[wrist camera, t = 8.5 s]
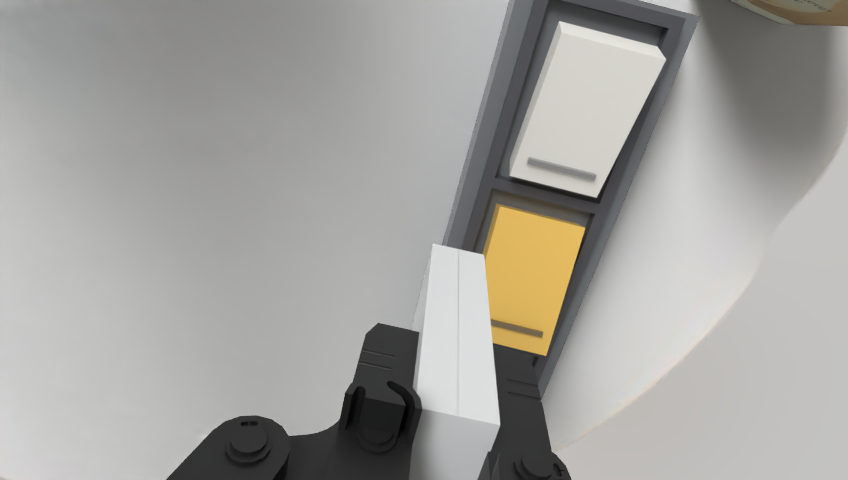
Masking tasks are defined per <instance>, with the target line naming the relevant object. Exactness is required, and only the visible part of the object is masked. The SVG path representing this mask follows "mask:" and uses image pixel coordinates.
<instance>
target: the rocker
mask: <svg viewBox="0 0 848 480" xmlns="http://www.w3.org/2000/svg"><path fill="white" fill-rule="evenodd" d="M665 61H666V59H665V57H664V56H663V54H662V53H661V51H660V50H659V48H658V47H657V46H653V45H649V44H646V43H642V42H638V41H634V40H630V39H626V38H623V37H619V36H615V35H611V34H607V33H603V32H600V31H596V30H592V29H588V28H584V27H580V26H576V25H573V24H569V23H565V22H561V21H559V23H558V25H557V28H556V31H555V34H554V37H553V39H552V42H551V45H550V48H549V51H548V53H547V56H546V59H545V62H544V65H543V67H542V70H541V73H540V76H539V79H538V81H537V84H536V87H535V90H534V93H533V95H532V98H531V101H530V104H529V107H528V109H527V112H526V115H525V118H524V121H523V123H522V126H521V129H520V132H519V135H518V137H517V140H516V143H515V146H514V149H513V151H512V154H511V157H510V176H512V177H516V178H520V179H524V180H528V181H532V182H536V183H540V184H544V185H548V186H552V187H556V188H560V189H564V190H568V191H572V192H576V193H580V194H584V195H588V196H592V197H596V198H597V196H598V194H599V192H600V190H601V188H602V186H603V184H604V182H605V180H606V178H607V176H608V174H609V172H610V170H611V168H612V166H613V164H614V162H615V160H616V158H617V156H618V154H619V152H620V150H621V148H622V146H623V144H624V142H625V140H626V138H627V136H628V134H629V133H630V131H631V129H632V127H633V125H634V123H635V121H636V119H637V117H638V115H639V113H640V111H641V109H642V107H643V105H644V103H645V101H646V99H647V97H648V95H649V93H650V91H651V89H652V87H653V85H654V83H655V81H656V79H657V77H658V75H659V73H660V71H661V69H662V67H663V65H664V63H665Z"/></svg>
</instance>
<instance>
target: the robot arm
mask: <svg viewBox="0 0 848 480" xmlns="http://www.w3.org/2000/svg"><path fill="white" fill-rule="evenodd" d="M540 401H541V397H540V392H539V389H538V382H537V377H536V372H535V369H534V367H533V366H532V364H531V363H530V362H529V360H528V359H527V357H526V356H525V355H524V353H519V352H515V351H510V350H506V349H501V348H496V347H493V343H492V332H491V322H490V311H489V301H488V290H487V280H486V269H485V259H484V255H482V254H478V253H474V252H469V251H465V250H460V249H456V248H452V247H447V246H443V245H438V244H434V243H433V244H432V248H431V252H430V256H429V260H428V264H427V268H426V272H425V276H424V280H423V284H422V288H421V292H420V296H419V299H418V303H417V307H416V311H415V315H414V319H413V324H412V330H408V329H403V328H399V327H394V326H390V325H385V324H380V323H378V324H377V325H375V326H374V327H373V328H372V329H371V330H370V331H369V332H368V333H367V334H366V336H365V340H364V343H363V347H362V351H361V354H360V358H359V361H358V365H357V369H356V372H355V376H354V379H353V383H351V384H350V386H349V388H348V389H347V391H346V393H345V397H344V402H343V407H342V412H341V417H340V419H339V421H338V422H337V423H336V424H334V425H333V426H331V427H330V428H328V429H327V430H324V431H321V432H319V433H315V434H308V435H297V436H288V435H287V433H286V432H285V430H284V428H283V427H282V426H281V425H279V424H278V423H276V422H274V421H273V420H271V419H268V418H264V417H260V416H240V417H237V418H234V419H231V420H228V421H225V422H224V423H222V424H221V425H220V426H218V427H217V428H216V429H214V430H213V431H212V432H211V433H210V434H209V435H208V436H207V437H206V438H205V439H204V440H203V441H202V442H201V443H200V445H199V446H198V447H197V448H196V449H195V450H194V451H193V452H192V453H191V454H190V455H189V456H188V457H187V458H186V459H185V460H184V461H183V462H182V463H181V464H180V466H179V467H178V468H177V469H176V470H175V471H174V472H173V473H172V474H171V475H170V476H169V477H168V478H167V479H166V480H571V477H570V475H569V473H568V470H567V468H566V466H565V465H564V464H563V462H562V461H561V460H560V459H559V458H558V457H557V455H555V454H554V453H553V452H552V451H551V446H550V441H549V436H548V431H547V426H546V421H545V416H544V411H543V406H542V402H540Z"/></svg>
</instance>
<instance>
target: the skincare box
mask: <svg viewBox="0 0 848 480" xmlns="http://www.w3.org/2000/svg"><path fill="white" fill-rule="evenodd" d="M730 1H732V2H734V3H736V4H738V5H740V6H742V7H744V8H746V9H749V10H751V11H753V12H755V13H757V14H760V15H762V16H764V17H766V18H769V19H771V20H773V21H775V22H777V23H780V24H800V25H832V26H848V0H730Z"/></svg>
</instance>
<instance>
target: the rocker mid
mask: <svg viewBox="0 0 848 480" xmlns="http://www.w3.org/2000/svg"><path fill="white" fill-rule="evenodd" d="M584 231H585V227H583V226H581V225H579V224H577V223H574V222H570V221H566V220H562V219H558V218H554V217H550V216H546V215H542V214H538V213H534V212H530V211H526V210H522V209H518V208H514V207H510V206H506V205H502V204H498V203H496V206H495V210H494V213H493V217H492V221H491V224H490V228H489V232H488V235H487V239H486V243H485V246H484V250H483V254H482V255H484V259H485V269H486V280H487V290H488V301H489V311H490V322H491V332H492V343H495V344H499V345H503V346H507V347H511V348H516V349H520V350H524V351H528V352H532V353H536V354H540V355H544V356H546V355H547V352H548V349H549V345H550V342H551V339H552V335H553V332H554V329H555V326H556V322H557V319H558V316H559V313H560V309H561V306H562V303H563V300H564V296H565V293H566V290H567V286H568V283H569V280H570V277H571V273H572V270H573V267H574V264H575V260H576V257H577V254H578V251H579V247H580V244H581V241H582V237H583V234H584Z"/></svg>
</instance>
